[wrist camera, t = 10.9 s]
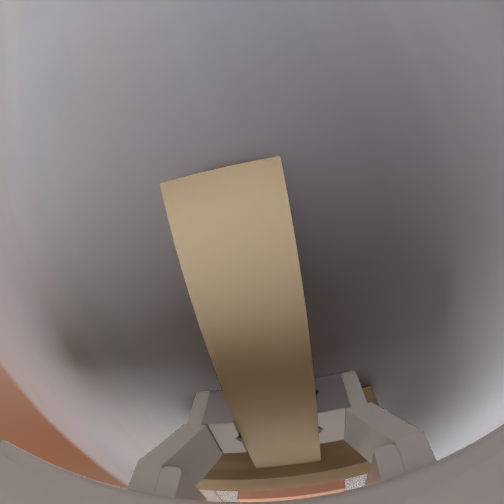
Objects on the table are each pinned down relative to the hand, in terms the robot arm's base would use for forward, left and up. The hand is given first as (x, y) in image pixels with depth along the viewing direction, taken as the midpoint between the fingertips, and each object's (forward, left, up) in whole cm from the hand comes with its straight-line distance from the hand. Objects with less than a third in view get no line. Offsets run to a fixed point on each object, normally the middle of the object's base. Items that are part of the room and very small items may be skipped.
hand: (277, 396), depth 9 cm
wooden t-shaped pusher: (-2, 0, -2) cm, 3 cm away
